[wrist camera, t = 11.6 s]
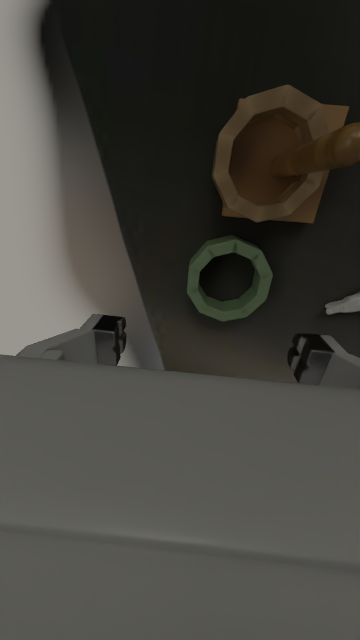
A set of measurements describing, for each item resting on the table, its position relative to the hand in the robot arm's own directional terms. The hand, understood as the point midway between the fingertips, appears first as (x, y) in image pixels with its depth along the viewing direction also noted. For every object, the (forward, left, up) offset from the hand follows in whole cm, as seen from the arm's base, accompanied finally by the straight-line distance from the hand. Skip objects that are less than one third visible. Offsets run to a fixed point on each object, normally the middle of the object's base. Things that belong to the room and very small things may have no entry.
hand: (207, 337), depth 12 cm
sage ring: (+2, +3, -18) cm, 18 cm away
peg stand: (-9, +6, -18) cm, 21 cm away
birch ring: (-9, +4, -17) cm, 19 cm away
